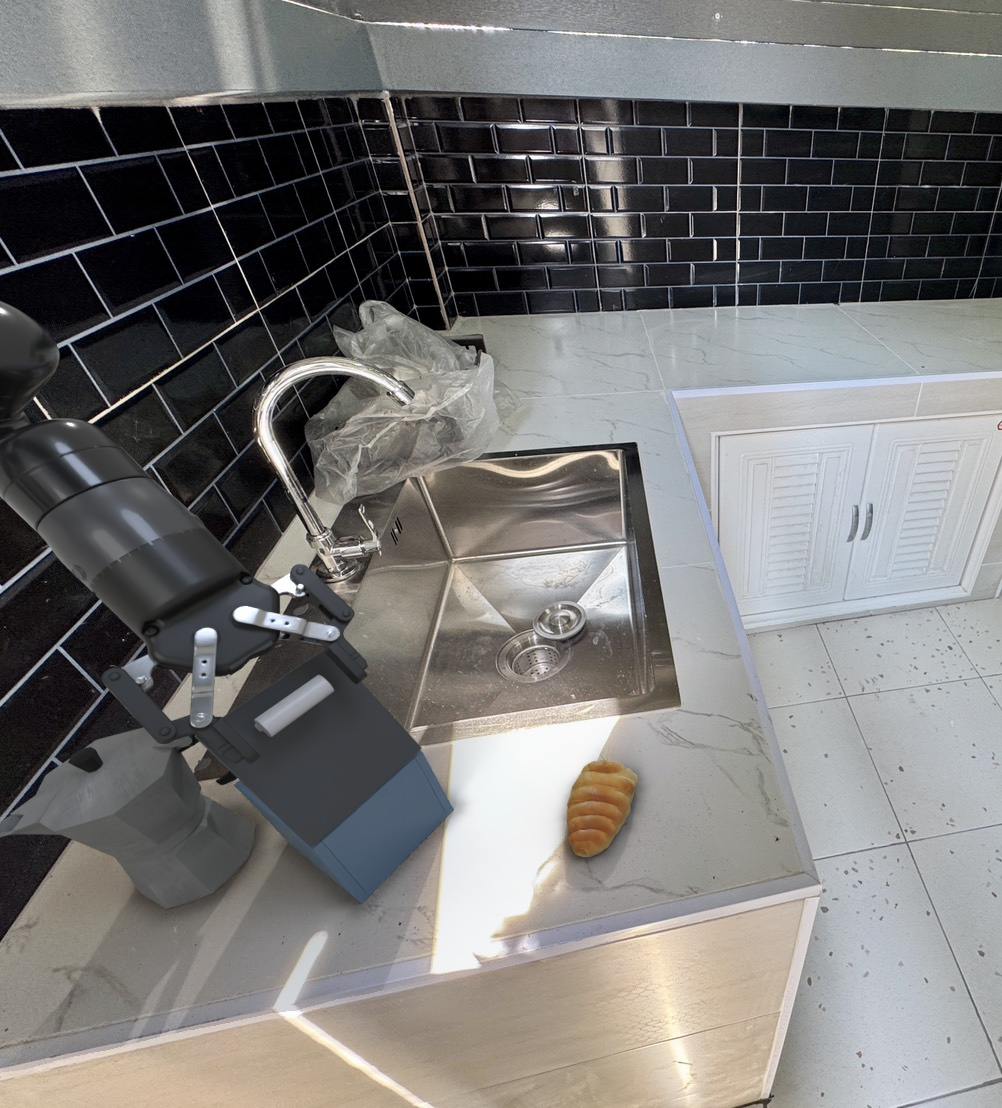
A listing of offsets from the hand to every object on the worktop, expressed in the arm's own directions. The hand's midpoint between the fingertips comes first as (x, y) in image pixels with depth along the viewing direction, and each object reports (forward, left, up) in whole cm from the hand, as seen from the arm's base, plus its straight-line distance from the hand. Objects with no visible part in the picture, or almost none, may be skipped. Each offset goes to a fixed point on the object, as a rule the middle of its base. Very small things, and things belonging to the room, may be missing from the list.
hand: (311, 718), depth 47 cm
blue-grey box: (-1, +4, -21) cm, 22 cm away
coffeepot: (-13, +12, -22) cm, 28 cm away
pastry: (+17, -11, -22) cm, 29 cm away
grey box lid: (-1, +3, -6) cm, 6 cm away
